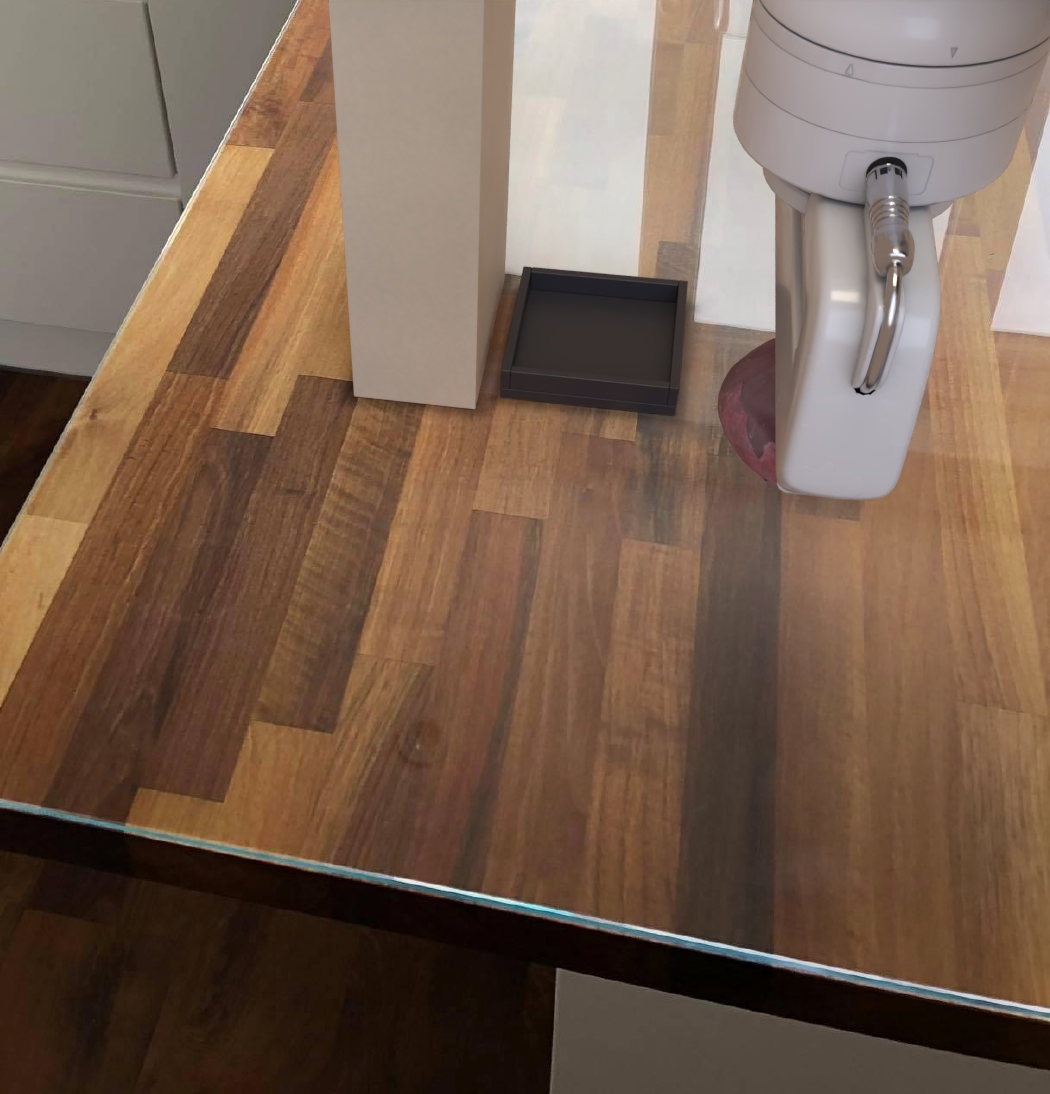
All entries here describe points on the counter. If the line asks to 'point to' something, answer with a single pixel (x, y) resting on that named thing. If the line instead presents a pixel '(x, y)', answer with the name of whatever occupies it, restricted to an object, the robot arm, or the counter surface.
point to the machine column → (423, 189)
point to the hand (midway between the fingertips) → (798, 411)
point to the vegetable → (752, 410)
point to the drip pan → (596, 340)
